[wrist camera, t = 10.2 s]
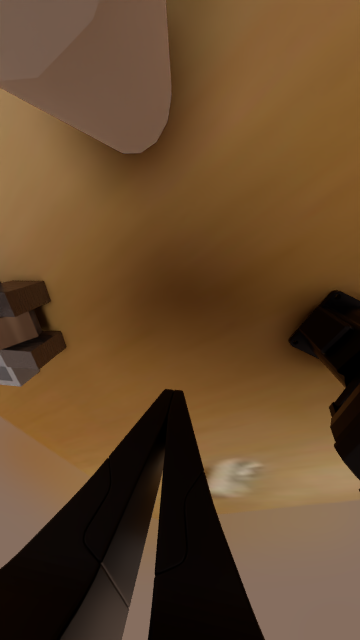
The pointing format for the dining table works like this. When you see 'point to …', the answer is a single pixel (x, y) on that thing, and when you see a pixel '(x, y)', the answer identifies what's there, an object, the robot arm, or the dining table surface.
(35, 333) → the lever
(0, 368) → the tray
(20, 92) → the foam cup
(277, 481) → the dining table surface
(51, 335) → the lever stand
